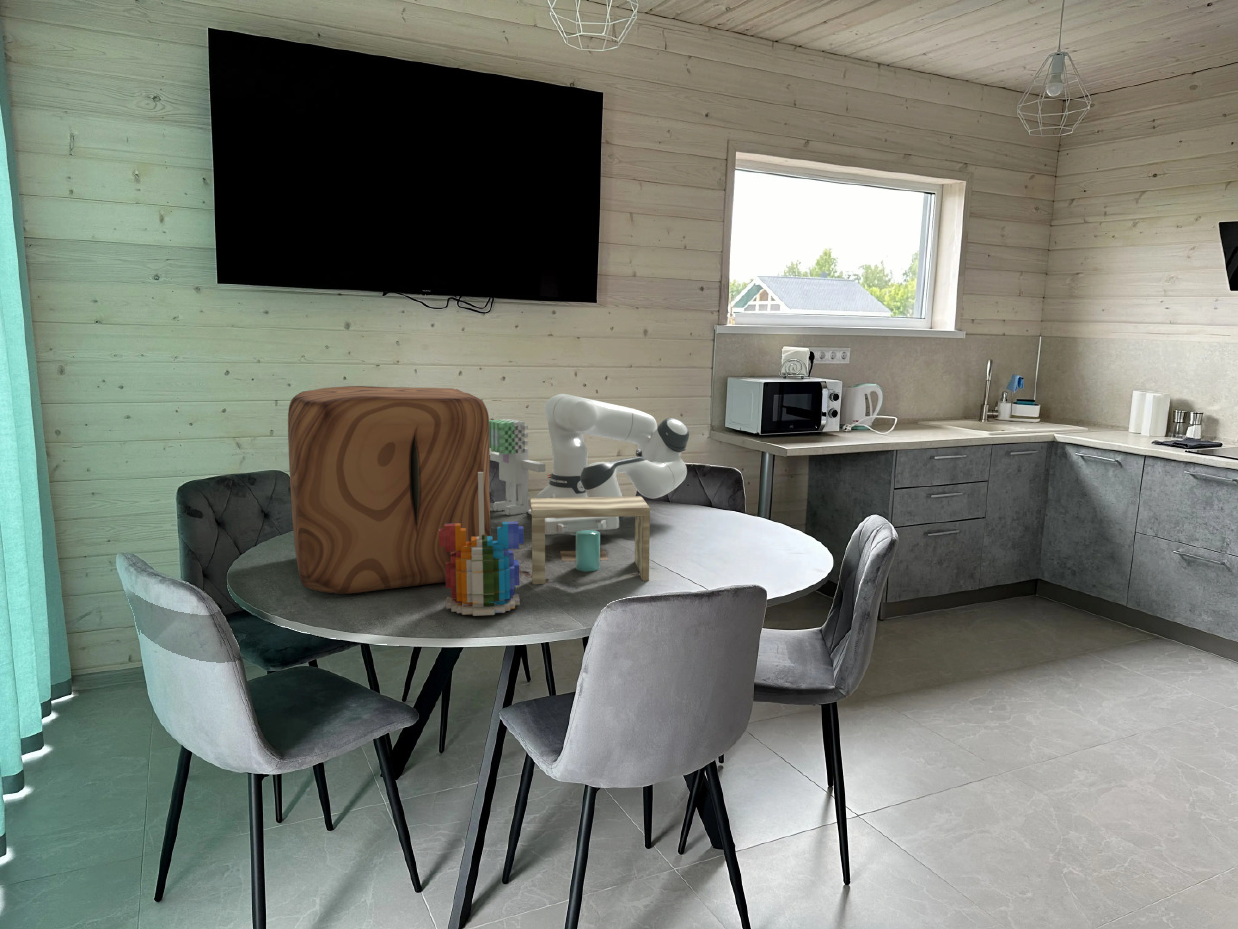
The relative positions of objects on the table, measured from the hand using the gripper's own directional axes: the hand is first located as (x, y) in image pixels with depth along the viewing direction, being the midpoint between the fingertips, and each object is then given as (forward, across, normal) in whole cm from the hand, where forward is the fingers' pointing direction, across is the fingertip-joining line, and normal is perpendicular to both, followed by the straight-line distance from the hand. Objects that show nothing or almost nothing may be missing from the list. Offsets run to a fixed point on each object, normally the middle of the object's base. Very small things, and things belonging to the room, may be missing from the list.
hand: (582, 528), depth 230 cm
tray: (0, 0, -8) cm, 8 cm away
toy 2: (-60, +22, -3) cm, 64 cm away
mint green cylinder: (+12, 0, -9) cm, 15 cm away
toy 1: (+39, +24, -9) cm, 46 cm away
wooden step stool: (+14, 0, -9) cm, 17 cm away
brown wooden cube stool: (+6, +49, -5) cm, 50 cm away
